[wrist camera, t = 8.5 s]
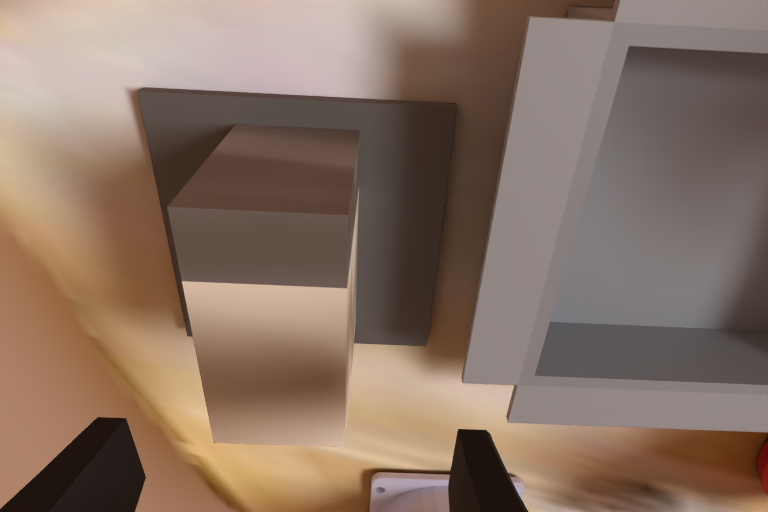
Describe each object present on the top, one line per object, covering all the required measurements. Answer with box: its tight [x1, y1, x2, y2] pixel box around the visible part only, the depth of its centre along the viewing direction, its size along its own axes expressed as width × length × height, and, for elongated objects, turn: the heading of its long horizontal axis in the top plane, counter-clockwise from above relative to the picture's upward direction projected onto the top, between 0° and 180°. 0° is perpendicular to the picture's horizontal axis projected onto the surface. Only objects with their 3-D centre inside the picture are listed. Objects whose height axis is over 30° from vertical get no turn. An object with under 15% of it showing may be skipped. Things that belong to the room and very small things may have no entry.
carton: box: [462, 0, 768, 432], centre depth 17 cm, size 16×16×4 cm
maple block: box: [167, 124, 360, 448], centre depth 16 cm, size 8×4×6 cm, turn 177°
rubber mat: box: [137, 88, 457, 346], centre depth 19 cm, size 10×10×1 cm
